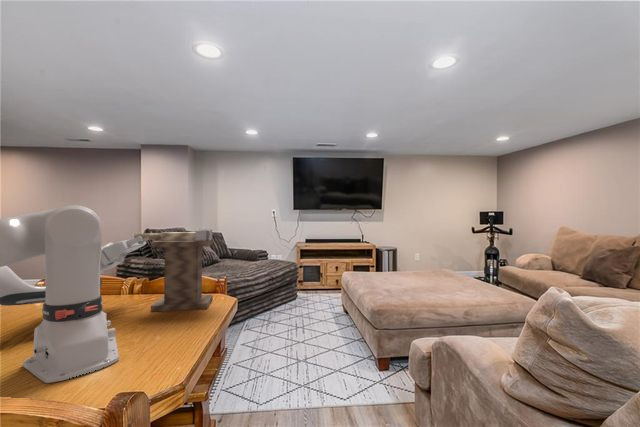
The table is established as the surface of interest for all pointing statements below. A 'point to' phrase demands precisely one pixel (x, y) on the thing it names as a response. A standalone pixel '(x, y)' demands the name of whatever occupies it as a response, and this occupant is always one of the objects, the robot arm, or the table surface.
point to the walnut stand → (182, 276)
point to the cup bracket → (203, 235)
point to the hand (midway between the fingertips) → (146, 236)
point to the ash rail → (168, 236)
